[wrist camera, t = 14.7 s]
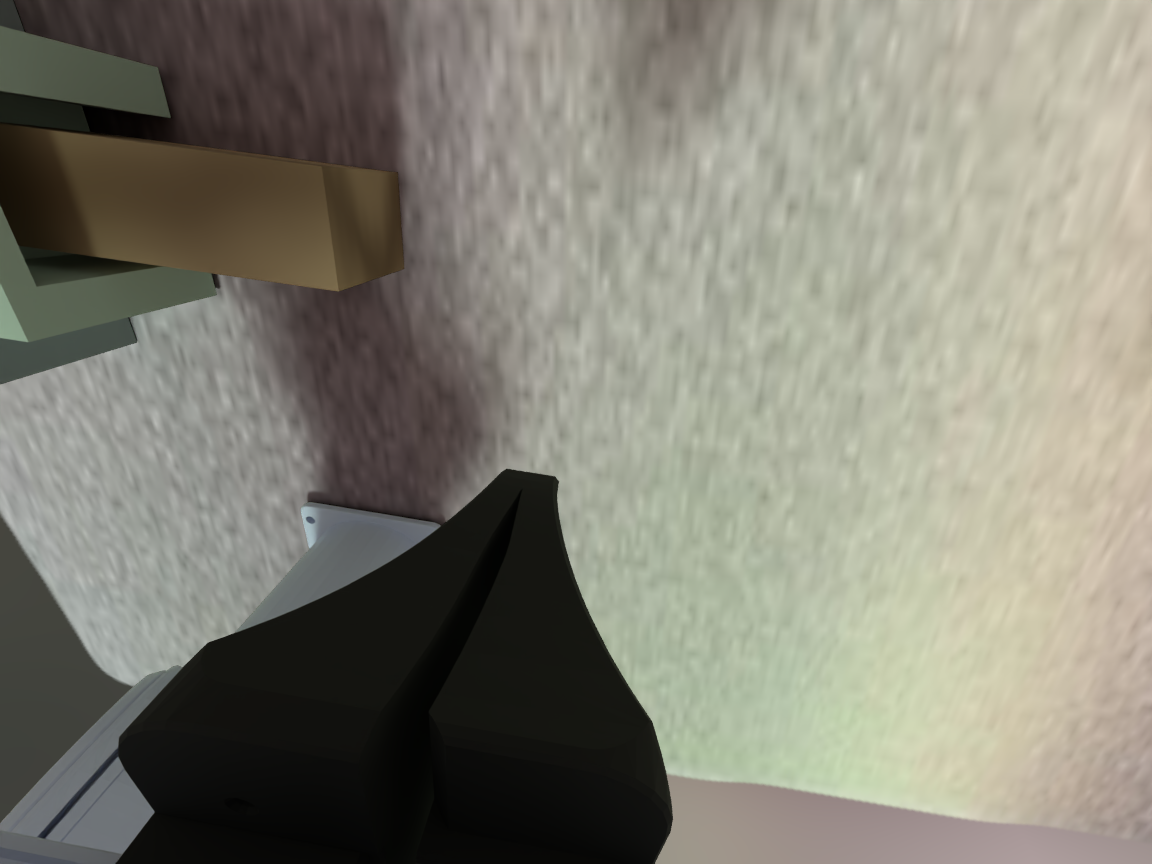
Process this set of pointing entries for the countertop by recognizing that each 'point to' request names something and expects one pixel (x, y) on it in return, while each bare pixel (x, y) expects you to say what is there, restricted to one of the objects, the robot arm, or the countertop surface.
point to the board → (26, 358)
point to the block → (58, 279)
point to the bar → (199, 207)
